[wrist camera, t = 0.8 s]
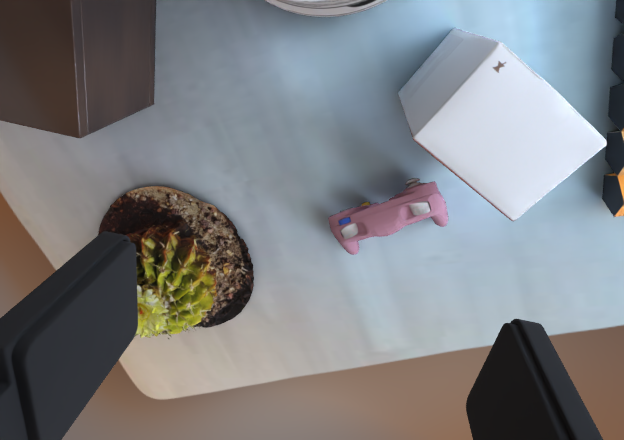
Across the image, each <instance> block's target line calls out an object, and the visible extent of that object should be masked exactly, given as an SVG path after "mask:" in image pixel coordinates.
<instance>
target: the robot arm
mask: <svg viewBox="0 0 624 440" xmlns="http://www.w3.org/2000/svg"><path fill="white" fill-rule="evenodd" d="M137 328H138V303H137V264H136V246H135V244H134V243H131V242H130V239H129V237H128V236H126V235H121V234H116V233H112V232H107V231H105V232H102V233H101V234H99V235H98V236H97V237H96V238H95V239H93V240H92V241H91V242H90V243H89V244H88V245H86V246H85V247H84V248H83V249H82V250H80V251H79V252H78V253H77V254H76V255H75V256H73V257H72V258H71V259H70V260H69V261H67V262H66V263H65V264H64V265H63V266H62V267H60V268H59V269H58V270H57V271H56V272H55V273H53V274H52V275H51V276H50V277H49V278H47V279H46V280H45V281H44V282H43V283H42V284H41V285H39V286H38V287H37V288H36V289H34V290H33V291H32V292H31V293H30V294H29V295H27V296H26V297H25V298H24V299H23V300H22V301H20V302H19V303H18V304H17V305H16V306H14V307H13V308H12V309H11V310H10V311H8V313H6V314H5V315H4V316H3V317H1V318H0V440H61V439H62V438H63V437H64V435H65V434H66V432H67V431H68V430H69V428H70V427H71V425H72V424H73V423H74V421H75V420H76V418H77V417H78V416H79V414H80V413H81V411H82V410H83V409H84V407H85V406H86V404H87V403H88V401H89V400H90V399H91V397H92V396H93V395H94V393H95V392H96V390H97V389H98V387H99V386H100V385H101V383H102V382H103V380H104V379H105V378H106V376H107V375H108V373H109V372H110V371H111V369H112V368H113V366H114V365H115V364H116V362H117V361H118V359H119V358H120V357H121V355H122V354H123V352H124V351H125V350H126V348H127V347H128V345H129V344H130V343H131V341H132V340H133V338H134V336H135V334H136V332H137ZM466 411H467V416H468V420H469V424H470V429H471V433H472V437H473V440H603V439H602V437H601V435H600V433H599V431H598V429H597V427H596V425H595V423H594V422H593V420H592V418H591V416H590V414H589V412H588V410H587V408H586V407H585V405H584V403H583V401H582V399H581V397H580V396H579V393H578V392H577V390H576V388H575V386H574V384H573V382H572V380H571V379H570V377H569V375H568V373H567V371H566V369H565V367H564V365H563V363H562V362H561V360H560V358H559V356H558V354H557V352H556V351H555V349H554V347H553V345H552V343H551V341H550V339H549V337H548V335H547V334H546V332H545V330H544V328H543V327H542V325H541V324H539V323H534V322H529V321H525V320H520V319H514V320H513V321H511V323H505V324H504V325H503V326H502V328H501V330H500V332H499V334H498V336H497V338H496V341H495V343H494V345H493V347H492V349H491V351H490V353H489V355H488V357H487V359H486V361H485V363H484V365H483V367H482V369H481V371H480V373H479V375H478V377H477V379H476V381H475V383H474V386H473V388H472V389H471V391H470V394H469V396H468V398H467V403H466Z"/></svg>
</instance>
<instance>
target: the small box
mask: <svg viewBox="0 0 624 440" xmlns="http://www.w3.org/2000/svg"><path fill="white" fill-rule="evenodd" d="M398 95H399V98H400V101H401V104H402V107H403V110H404V113H405V116H406V119H407V122H408V125H409V128H410V131H411V134H412V137H413V140H414V141H415V142H417V143H418V144H419V145H420V146H421V147H423V148H424V149H425V150H426V151H427V152H429V153H430V154H431V155H432V156H433V157H435V158H436V159H437V160H438V161H439V162H441V163H442V164H443V165H444V166H445V167H447V168H448V169H449V170H450V171H451V172H453V173H454V174H455V175H456V176H458V177H459V178H460V179H461V180H463V181H464V182H465V183H466V184H467V185H468V186H470V187H471V188H472V189H473V190H475V191H476V192H477V193H478V194H479V195H481V196H482V197H483V198H484V199H486V200H487V201H488V202H489V203H491V204H492V205H493V206H494V207H495V208H496V209H498V210H499V211H500V212H501V213H503V214H504V215H505V216H506V217H508V218H509V219H510V220H511V221H515V220H516V219H518V218H519V217H520V216H521V215H522V214H523V213H525V212H526V211H527V210H528V209H529V208H531V207H532V206H533V205H534V204H535V203H536V202H538V201H539V200H540V199H541V198H543V197H544V196H545V195H546V194H547V193H548V192H550V191H551V190H552V189H553V188H555V187H556V186H557V185H558V184H559V183H561V182H562V181H563V180H564V179H566V178H567V177H568V176H569V175H570V174H572V173H573V172H574V171H575V170H577V169H578V168H579V167H580V166H581V165H583V164H584V163H585V162H586V161H588V160H589V159H590V158H591V157H592V156H594V155H595V154H596V153H597V152H599V151H600V150H601V149H602V148H604V147H605V146H606V145H607V141H606V139H605V138H604V137H603V136H602V135H601V134H600V133H599V132H598V131H597V130H596V129H595V128H594V127H593V126H592V125H591V124H590V123H589V122H587V121H586V120H585V119H584V118H583V117H582V116H581V115H580V114H579V113H578V112H577V111H576V110H575V109H574V108H573V107H572V106H571V105H570V104H569V103H568V102H567V101H566V100H565V99H564V98H563V97H562V96H561V95H560V94H559V93H558V92H557V91H556V90H555V89H554V88H553V87H552V86H551V85H550V84H549V83H548V82H547V81H545V80H544V79H543V78H541V77H540V76H539V75H538V74H536V73H535V72H534V71H533V70H532V69H531V68H530V67H529V66H527V65H526V64H525V63H524V62H523V61H522V60H521V59H520V58H519V57H518V56H517V55H515V54H514V53H513V52H512V51H511V50H510V49H509V48H508V47H506V46H505V45H504V44H503V43H502V42H500V41H497V40H493V39H490V38H487V37H484V36H481V35H477V34H473V33H470V32H466V31H463V30H461V29H458V28H455V27H454V28H453V29H452V30H451V32H450V33H449V34H448V35H447V36H446V37H445V39H444V40H443V41H442V42H441V43H440V45H439V46H438V47H437V48H436V49H435V50H434V52H433V53H432V54H431V55H430V56H429V57H428V59H427V60H426V61H425V62H424V63H423V64H422V65H421V67H420V68H419V69H418V70H417V71H416V72H415V74H414V75H413V76H412V77H411V78H410V79H409V80H408V82H407V83H406V84H405V85H404V86H403V88H402V89H401V90H400V91H399V92H398Z"/></svg>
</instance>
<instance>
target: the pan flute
mask: <svg viewBox="0 0 624 440" xmlns="http://www.w3.org/2000/svg"><path fill="white" fill-rule="evenodd" d="M615 18H616V19H618V20H619V21H620V22H621V23H623V24H624V0H616V13H615ZM612 70H613V71H614V72H615V73H616V74H617V75H618V76H619V77H620V78H621V79H622V80H623V81H624V33H622V34H620V35H618V36H616V37H614V41H613V55H612ZM608 117H609V118H610V119H611V120H612V121H613V122H614V124H615V125H616V126H617V127H618V128H619V129H620V131H617V132H611V133H607V140H606V141H607V145H606V154H605V160H606V161H607V162H608V164H609V165H610V167H611V168H612V169H613V171H614V172H615V173H613V174H606V175H604V182H603V196H602V199H603V201H604V202H605V204H606V205H607V207H608V208H609V210H610V211H611V213H612V214H613V216H614V217H616V216H624V84H620V85H617V86H614V87H611V88H610V98H609V112H608Z"/></svg>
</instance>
